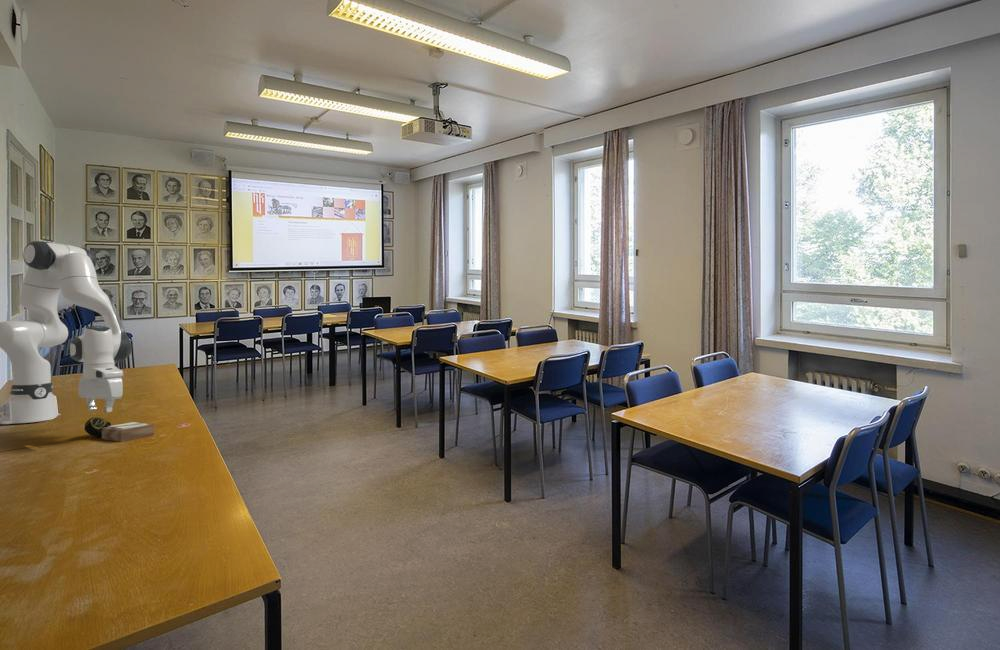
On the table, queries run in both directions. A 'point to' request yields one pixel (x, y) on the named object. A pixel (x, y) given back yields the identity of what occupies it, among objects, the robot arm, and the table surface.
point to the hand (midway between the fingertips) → (100, 411)
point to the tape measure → (96, 426)
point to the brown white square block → (127, 431)
